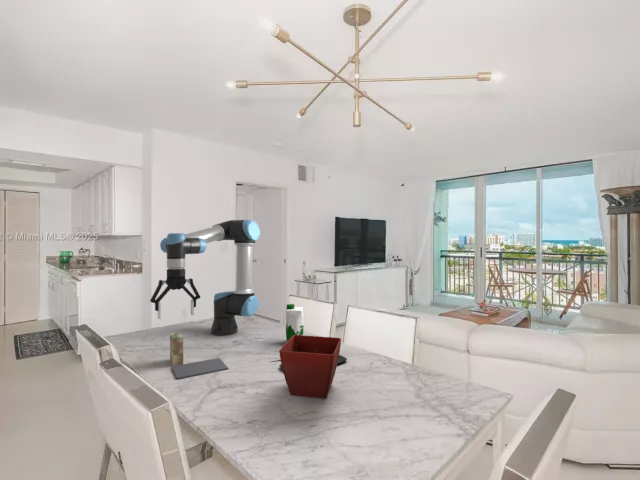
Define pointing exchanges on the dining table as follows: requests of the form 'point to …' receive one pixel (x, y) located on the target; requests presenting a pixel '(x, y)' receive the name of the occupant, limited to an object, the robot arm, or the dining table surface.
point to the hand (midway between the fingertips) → (176, 316)
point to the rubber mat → (198, 368)
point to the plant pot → (310, 364)
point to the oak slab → (176, 348)
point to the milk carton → (294, 321)
